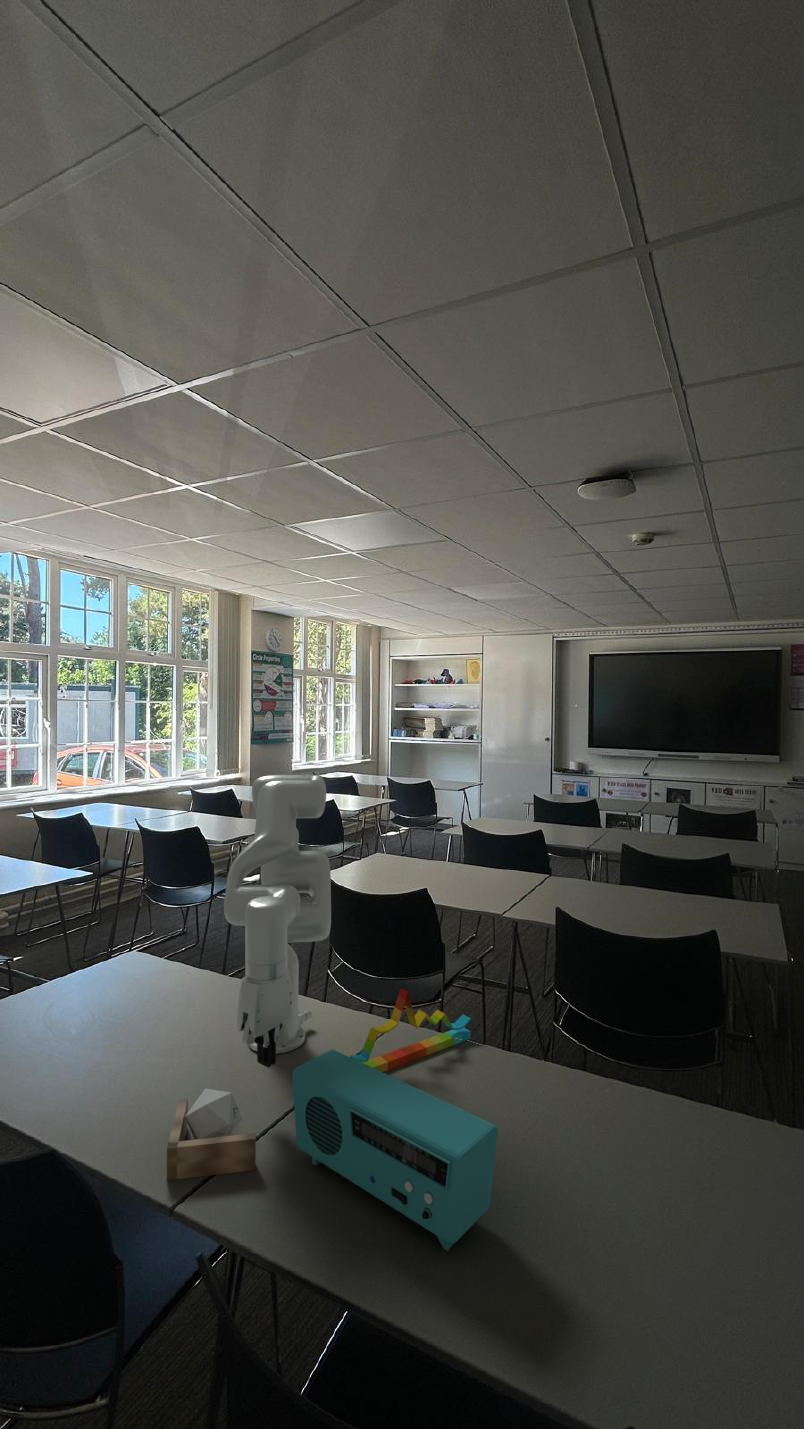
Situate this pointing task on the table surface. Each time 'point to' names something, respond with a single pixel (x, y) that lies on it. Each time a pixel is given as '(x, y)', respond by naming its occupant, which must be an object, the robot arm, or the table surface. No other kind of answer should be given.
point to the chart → (415, 1049)
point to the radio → (396, 1142)
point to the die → (213, 1115)
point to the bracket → (206, 1151)
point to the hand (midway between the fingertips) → (266, 1062)
